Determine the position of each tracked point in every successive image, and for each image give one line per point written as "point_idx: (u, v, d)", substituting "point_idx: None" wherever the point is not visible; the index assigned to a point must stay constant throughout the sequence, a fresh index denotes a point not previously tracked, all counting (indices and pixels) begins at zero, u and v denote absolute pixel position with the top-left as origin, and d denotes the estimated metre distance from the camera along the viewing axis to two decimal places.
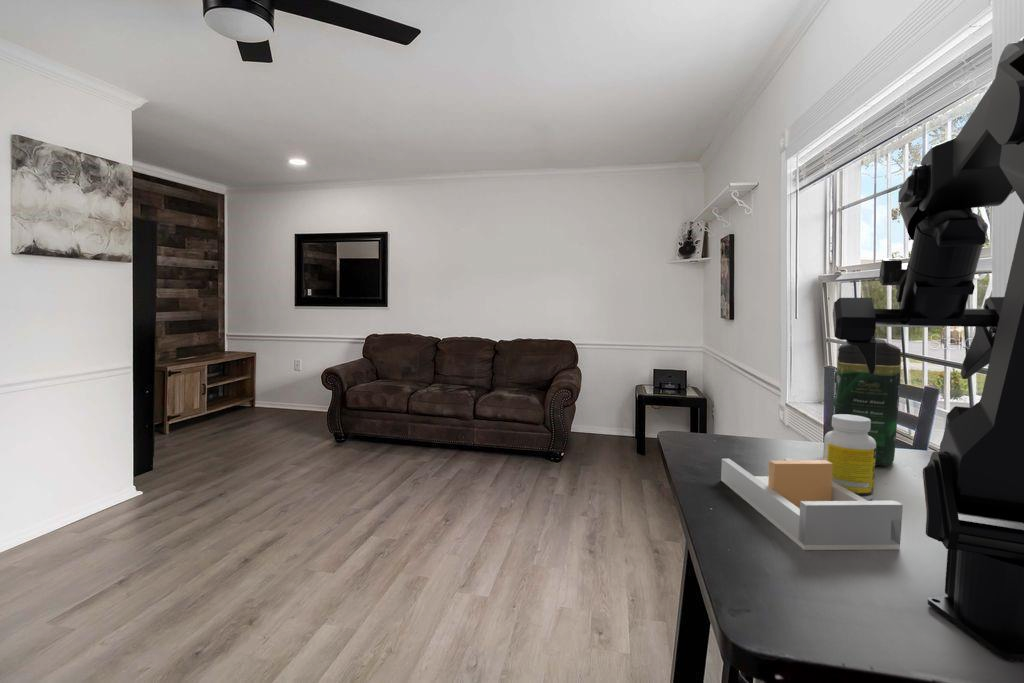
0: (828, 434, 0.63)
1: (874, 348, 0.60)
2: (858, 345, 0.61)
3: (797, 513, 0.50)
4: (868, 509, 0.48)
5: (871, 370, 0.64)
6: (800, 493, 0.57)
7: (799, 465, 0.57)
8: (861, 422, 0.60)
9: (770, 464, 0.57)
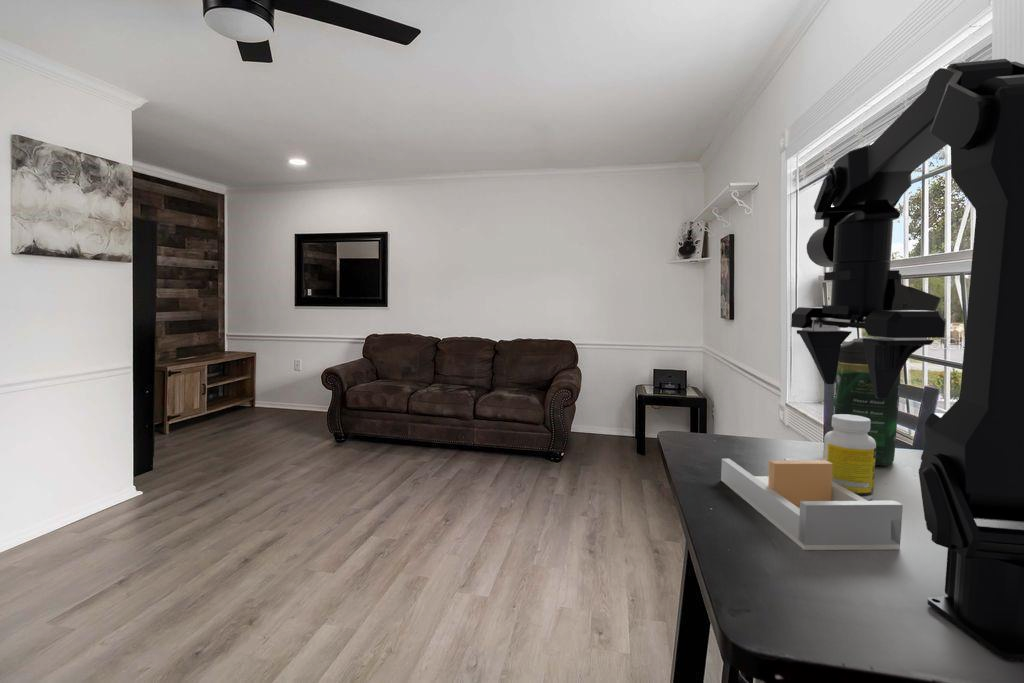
0: (828, 434, 0.63)
1: (809, 339, 0.66)
2: (800, 334, 0.68)
3: (797, 513, 0.50)
4: (868, 509, 0.48)
5: (822, 376, 0.66)
6: (800, 493, 0.57)
7: (799, 465, 0.57)
8: (861, 422, 0.60)
9: (770, 464, 0.57)
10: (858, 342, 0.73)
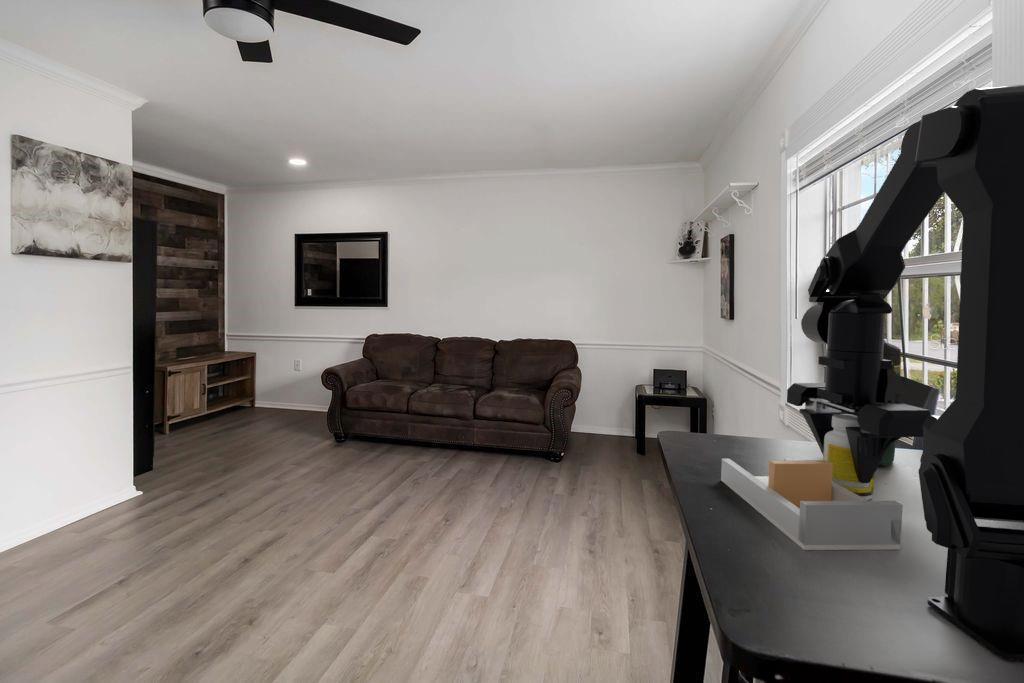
0: (828, 434, 0.63)
1: (812, 421, 0.65)
2: (803, 414, 0.67)
3: (797, 513, 0.50)
4: (868, 509, 0.48)
5: None
6: (800, 493, 0.57)
7: (799, 465, 0.57)
8: None
9: (770, 464, 0.57)
10: None
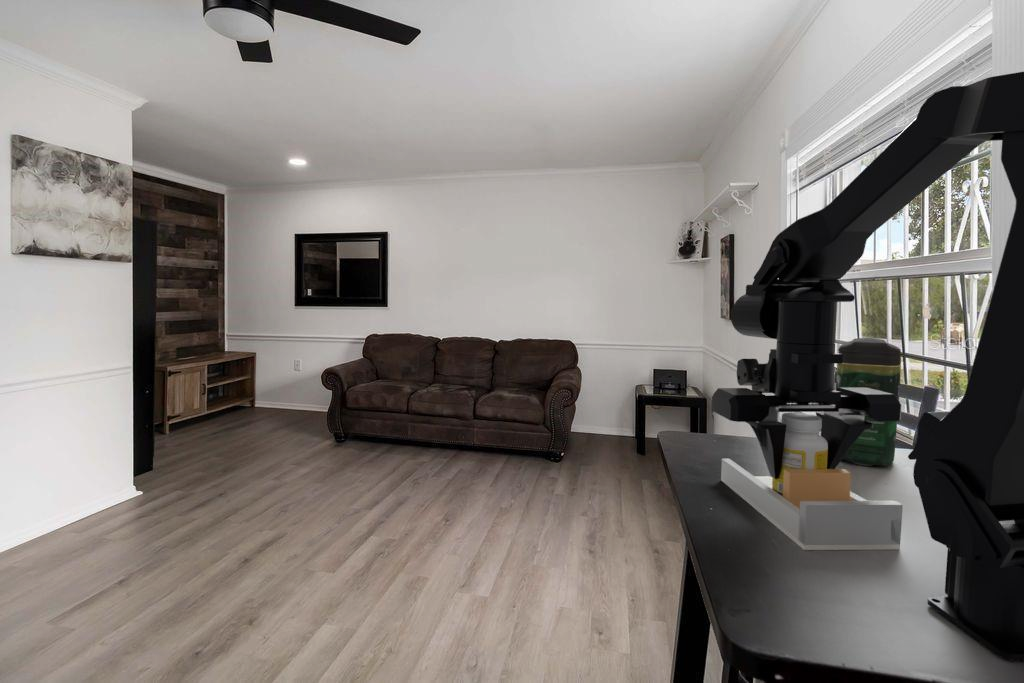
0: (806, 442, 0.55)
1: (784, 433, 0.54)
2: (770, 429, 0.54)
3: (797, 513, 0.50)
4: (868, 509, 0.48)
5: (777, 472, 0.57)
6: None
7: (815, 474, 0.54)
8: None
9: (785, 473, 0.54)
10: (858, 342, 0.73)
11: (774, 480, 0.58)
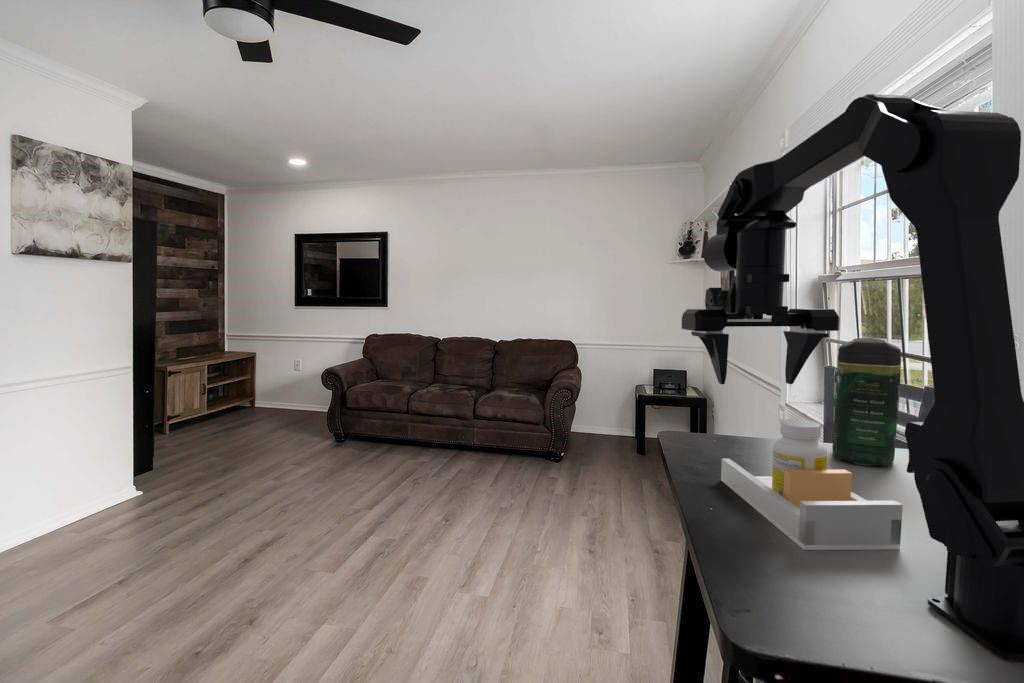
0: (805, 448, 0.55)
1: (727, 342, 0.64)
2: (715, 338, 0.64)
3: (797, 513, 0.50)
4: (868, 509, 0.48)
5: (723, 378, 0.67)
6: None
7: (816, 475, 0.53)
8: None
9: (785, 474, 0.54)
10: (858, 342, 0.73)
11: (774, 487, 0.58)
